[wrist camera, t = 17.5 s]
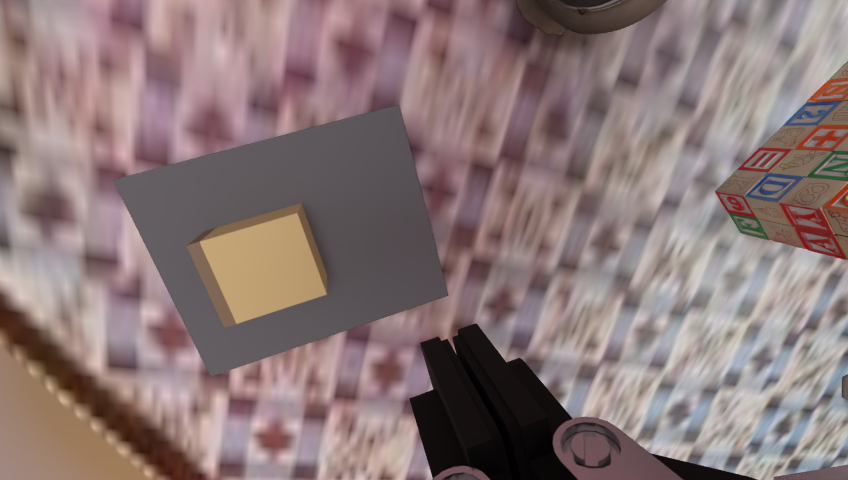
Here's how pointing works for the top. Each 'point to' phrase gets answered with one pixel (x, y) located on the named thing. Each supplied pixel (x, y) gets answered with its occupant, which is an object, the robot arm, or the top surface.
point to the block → (260, 264)
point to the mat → (328, 219)
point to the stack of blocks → (799, 178)
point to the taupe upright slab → (845, 387)
